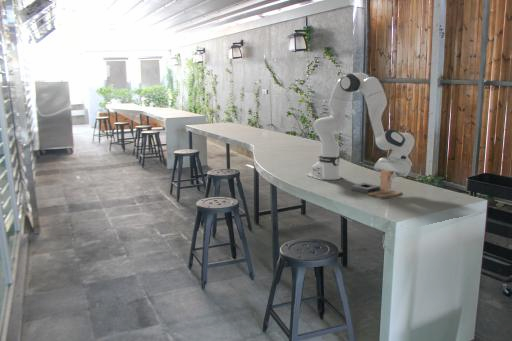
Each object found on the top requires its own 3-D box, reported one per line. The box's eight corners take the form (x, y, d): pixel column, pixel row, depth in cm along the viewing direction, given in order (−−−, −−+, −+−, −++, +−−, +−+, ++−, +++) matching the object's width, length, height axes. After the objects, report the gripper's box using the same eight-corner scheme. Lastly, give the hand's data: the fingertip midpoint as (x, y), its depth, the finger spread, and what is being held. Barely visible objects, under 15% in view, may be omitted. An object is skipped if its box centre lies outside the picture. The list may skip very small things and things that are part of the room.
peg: (380, 188, 251) (381, 170, 249) (384, 187, 254) (385, 169, 252) (386, 189, 248) (387, 171, 246) (390, 188, 251) (391, 170, 249)
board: (367, 195, 251) (367, 193, 251) (385, 190, 261) (385, 188, 261) (384, 199, 243) (384, 197, 243) (402, 194, 253) (402, 192, 252)
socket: (351, 189, 262) (351, 185, 262) (363, 186, 270) (363, 182, 269) (367, 193, 254) (367, 189, 253) (380, 190, 261) (380, 186, 260)
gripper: (378, 153, 260) (367, 172, 256) (411, 158, 244) (399, 178, 240) (383, 160, 263) (371, 179, 259) (415, 165, 248) (403, 185, 244)
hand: (385, 179), depth 250 cm, fingers closed on peg, 4 cm apart
